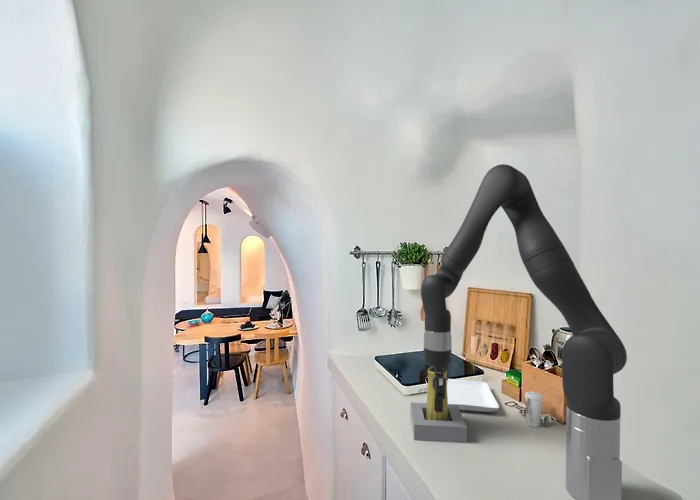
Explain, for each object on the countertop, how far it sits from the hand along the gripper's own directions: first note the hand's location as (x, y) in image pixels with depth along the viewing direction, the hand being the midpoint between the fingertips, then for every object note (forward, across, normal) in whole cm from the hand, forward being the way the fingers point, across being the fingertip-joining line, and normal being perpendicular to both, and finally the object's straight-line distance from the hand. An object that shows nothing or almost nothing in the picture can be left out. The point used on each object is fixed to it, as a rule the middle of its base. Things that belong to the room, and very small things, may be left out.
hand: (437, 406), depth 102 cm
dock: (+6, 0, 0) cm, 6 cm away
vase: (+4, 0, 0) cm, 4 cm away
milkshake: (+6, +5, -28) cm, 29 cm away
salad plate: (+7, +20, -10) cm, 23 cm away
